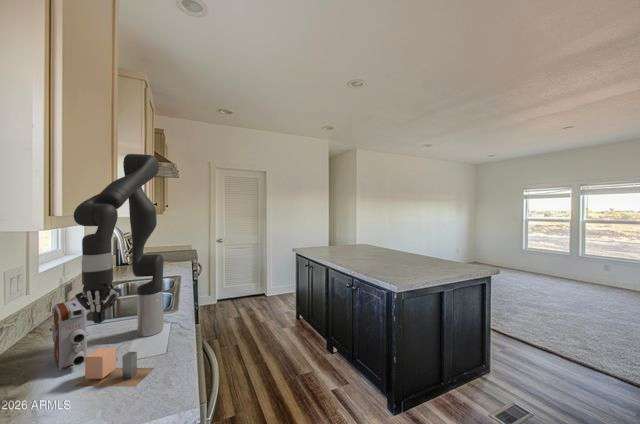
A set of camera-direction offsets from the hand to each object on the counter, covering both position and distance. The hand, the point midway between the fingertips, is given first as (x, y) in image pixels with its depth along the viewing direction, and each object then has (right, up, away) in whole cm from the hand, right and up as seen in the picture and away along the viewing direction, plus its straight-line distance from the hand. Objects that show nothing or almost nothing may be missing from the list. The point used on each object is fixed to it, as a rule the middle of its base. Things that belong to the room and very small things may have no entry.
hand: (99, 322), depth 85 cm
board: (+6, -17, -1) cm, 19 cm away
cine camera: (-16, -18, +7) cm, 25 cm away
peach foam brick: (+2, -15, -1) cm, 15 cm away
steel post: (+10, -16, -1) cm, 19 cm away
